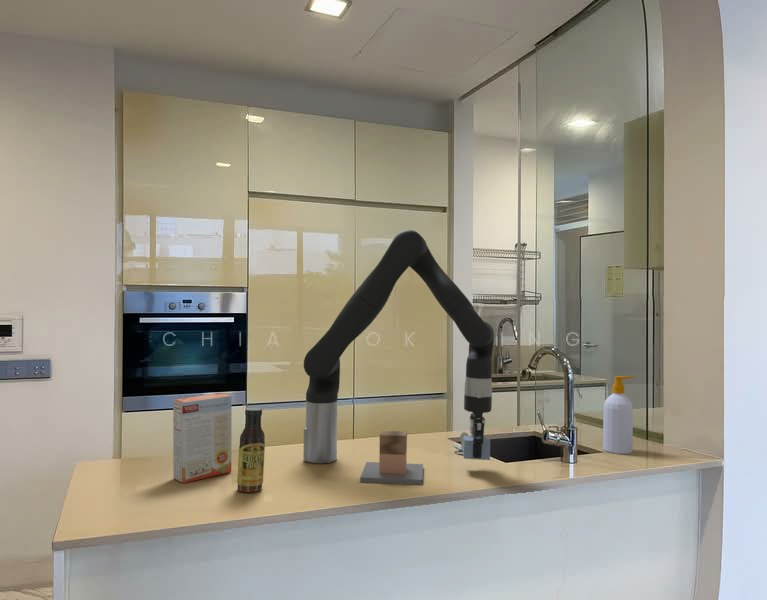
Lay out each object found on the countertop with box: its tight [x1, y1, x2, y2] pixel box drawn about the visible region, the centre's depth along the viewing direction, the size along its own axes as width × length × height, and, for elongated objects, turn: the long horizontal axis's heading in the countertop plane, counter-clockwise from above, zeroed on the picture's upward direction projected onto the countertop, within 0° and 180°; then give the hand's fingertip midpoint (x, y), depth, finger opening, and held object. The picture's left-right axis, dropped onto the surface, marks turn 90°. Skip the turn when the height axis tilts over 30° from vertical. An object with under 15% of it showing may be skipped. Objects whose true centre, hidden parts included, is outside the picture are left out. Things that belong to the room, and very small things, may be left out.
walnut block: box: [379, 430, 408, 455], centre depth 152 cm, size 7×5×5 cm
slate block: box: [462, 435, 491, 461], centre depth 156 cm, size 7×5×5 cm
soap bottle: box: [602, 375, 636, 455], centre depth 180 cm, size 9×9×24 cm
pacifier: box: [452, 431, 470, 456], centre depth 175 cm, size 7×6×6 cm
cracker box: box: [172, 393, 233, 484], centre depth 149 cm, size 14×6×21 cm, turn 134°
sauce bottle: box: [236, 407, 266, 493], centre depth 138 cm, size 6×6×20 cm
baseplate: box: [359, 450, 424, 485], centre depth 152 cm, size 16×14×6 cm
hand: (476, 454), depth 156 cm, fingers closed on slate block, 5 cm apart
